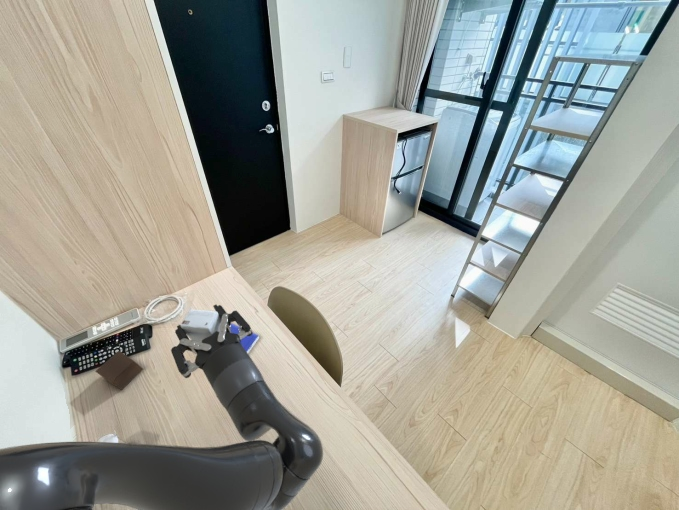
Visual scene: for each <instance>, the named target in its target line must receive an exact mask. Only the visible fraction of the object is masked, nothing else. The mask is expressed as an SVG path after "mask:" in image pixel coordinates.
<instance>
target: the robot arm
mask: <svg viewBox="0 0 679 510" xmlns="http://www.w3.org/2000/svg"><path fill="white" fill-rule="evenodd" d="M212 307H213V309H214V311H216V312H218V314H219V316H220V318H221V319H222V321H221V323H220V329H219V332H218V331H216V332H215V333H213V334H212V335H211V336H210V337H207V338H205V339H203V340H202V342H198V341H195V340H193V341H192V340H191V339H190V338H189V336H188V335H187V334H186V333H185V331H184V330H183V329H182V328H181V324H178V325H177V326H176V329H175V330H174V331H175V332H174V333H175V335H176V337H177V339H178V341H179V343H178V344H177V345H176V346H175V345H174V346H173V347H172V348H171V349H170V352H171V354H172V357H173V360H174V362H175V366H176V368H177V370H178V373H180V374H181V376H182V377H183V378H184V379H189V378H190V377H191V375H192V373H193V372H195V371H196V370H198V369H200V370H202V371H203V373H204V376H205V377H206V379H207V381H208V383H209V385H210V386H211V388H212V390H213V392H214V393H215V396H216V398H217V399H218V401H219V403H220V404H221V405H222V407H223V408H224V409H225V410H226V412H227V414H228V415H229V417H230V419H231V421H232V423H233V425H234V426H235V428H236V430H237V432H238V434H239V436H240V437H241V438H242V439H243V440H244V441H242V442H238V443H237V442H236V443H232V444H226V445H219V446H204V447H203V446H202V447H201V446H184V445H172V444H171V445H170V444H156V443H131V442H126V443H110V442H97V441H58V442H57V441H55V442H42V443H30V444H22V445H14V446H8V447H3V448H0V510H94V507H95V505H105V504H106V505H120V506H126V507H129V508H132V509H135V510H284V509H285V508H286V507H288V506H289V504H290V503H291V502H292V501H293V500H294V499H295V497H296V496H297V495H298V494H299V493H300V491H301V490H302V489H303V488H304V487H305V485H306V484H307V483H308V482H309V480H310V479H311V478H312V477H313V475H314V474H315V473H316V472H317V470H318V469H319V468H320V466H321V465H322V462H323V459H324V448H323V443H322V440H321V439H320V436H319V434H318V433H317V431H315V430H314V429H313V428H312V427H311V426H310V425H309V424H307V423H306V422H305V421H304V420H301V419H300V418H299V417H298V416H296V415H295V414H293V413H292V411H291V410H289V409H288V408H287V407H286V406H285V405H283V404H282V403H281V401H280V400H279V399H278V398H277V396H276V395H275V393H274V392H273V391H272V389H271V388H270V386H269V385H268V384H267V382H266V381H265V379H264V377H263V375H262V373H261V371H260V369H259V368H258V366H257V365H256V364H255V361H254V360H253V359H252V357H251V356H250V354H249V353H247V352H246V350H245V349H244V348H243V346H242V345H241V339H243V338H244V337H245V336H251V335H252V334H253V330H252V328H251V325H250V324H249V322H247V321H246V319H245V318H244V317H243V316H242V315H241V314H240V313H239V311H238V310H233V311H232V312H231V313H227V311H226V310H225V308H224V307H223V306H222V305H221V304H214V305H212ZM234 322H235V323H236V325H237V326H238V327H239V333H238V334H235V333H231V324H232V323H234ZM187 351H188V352H191V353H193V354H194V355H196V356H195V359H194V362H191V360H186V357H185V355H184V353H185V352H187ZM271 430H274V431H275V432H276V434H277V435H278V436H277V437H276V438H275V439H274V440H273V442H270V441H268V440H263V439H260V438H261V437H263V436H265V435H266V433H268V432H270V431H271Z"/></svg>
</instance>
